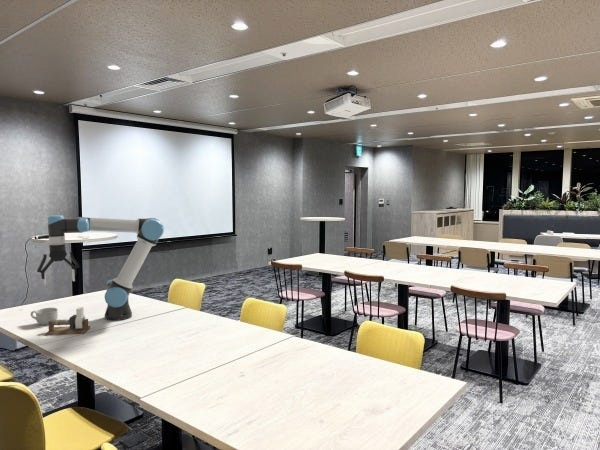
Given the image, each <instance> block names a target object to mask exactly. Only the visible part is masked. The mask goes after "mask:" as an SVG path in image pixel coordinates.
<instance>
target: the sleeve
mask: <svg viewBox="0 0 600 450" xmlns="http://www.w3.org/2000/svg"><path fill="white" fill-rule="evenodd" d="M75 310H76V312H75V313H76V314H75V315H77V317H76V320H75V325H76V328H83V324H82V319H86V315H85V311H84V307H83V306H80V307H79V306H78V308H76V309H75Z"/></svg>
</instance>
